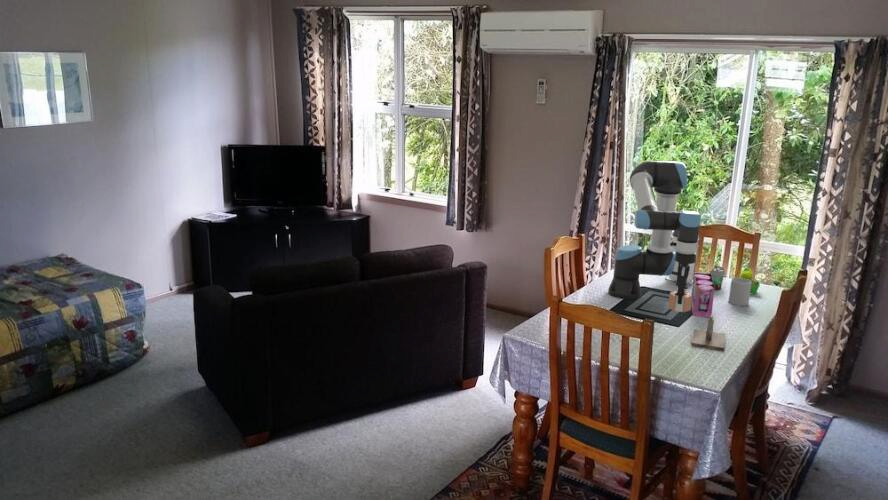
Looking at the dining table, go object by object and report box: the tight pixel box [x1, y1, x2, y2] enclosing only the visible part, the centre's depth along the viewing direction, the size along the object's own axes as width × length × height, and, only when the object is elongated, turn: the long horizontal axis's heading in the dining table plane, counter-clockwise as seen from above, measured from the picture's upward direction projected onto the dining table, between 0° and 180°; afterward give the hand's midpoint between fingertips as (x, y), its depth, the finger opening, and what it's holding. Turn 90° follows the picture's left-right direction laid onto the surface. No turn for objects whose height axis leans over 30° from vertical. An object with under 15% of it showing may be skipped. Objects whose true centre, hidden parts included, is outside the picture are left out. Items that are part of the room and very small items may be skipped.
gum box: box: [690, 272, 715, 318], centre depth 301 cm, size 24×8×14 cm, turn 163°
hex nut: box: [667, 290, 692, 313], centre depth 264 cm, size 7×8×6 cm
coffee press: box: [664, 231, 700, 287], centre depth 336 cm, size 17×16×30 cm
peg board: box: [690, 315, 726, 352], centre depth 265 cm, size 12×16×10 cm
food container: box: [709, 265, 726, 291], centre depth 330 cm, size 12×6×10 cm, turn 148°
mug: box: [728, 277, 751, 307], centre depth 311 cm, size 12×8×11 cm
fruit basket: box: [740, 267, 761, 295], centre depth 327 cm, size 11×9×11 cm
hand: (679, 307), depth 264 cm, fingers closed on hex nut, 7 cm apart
